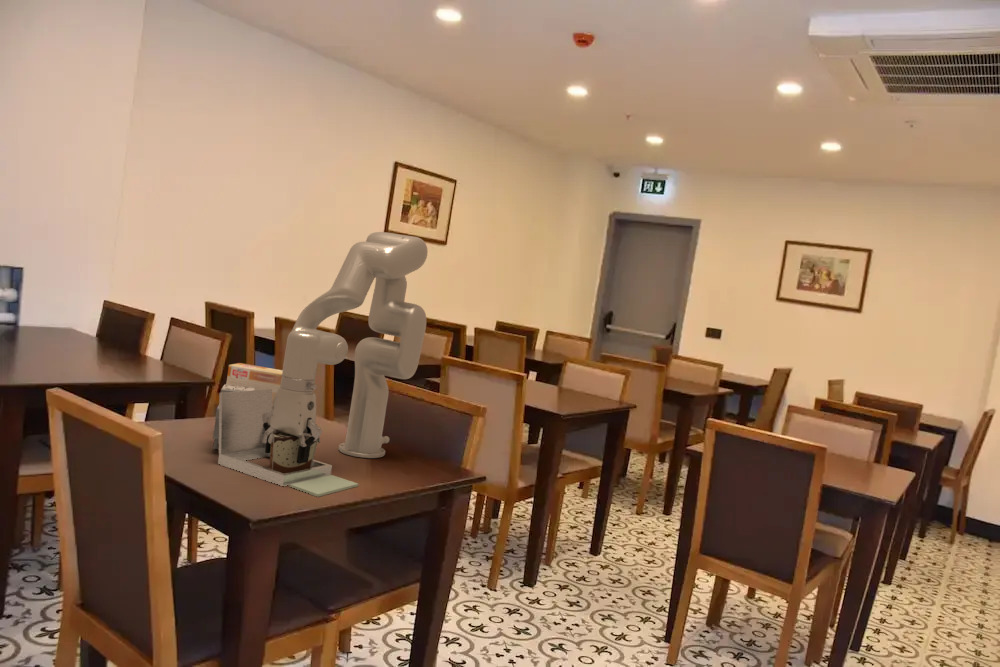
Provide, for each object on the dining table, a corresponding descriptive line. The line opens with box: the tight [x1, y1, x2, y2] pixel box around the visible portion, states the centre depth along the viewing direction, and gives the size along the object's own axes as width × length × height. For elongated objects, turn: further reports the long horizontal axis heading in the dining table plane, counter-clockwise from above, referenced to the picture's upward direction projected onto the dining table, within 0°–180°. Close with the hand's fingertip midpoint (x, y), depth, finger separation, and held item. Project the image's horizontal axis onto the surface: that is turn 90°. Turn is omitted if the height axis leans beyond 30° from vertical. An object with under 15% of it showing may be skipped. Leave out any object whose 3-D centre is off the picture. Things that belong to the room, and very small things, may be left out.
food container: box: [268, 430, 321, 474], centre depth 174 cm, size 12×6×10 cm, turn 133°
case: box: [217, 389, 333, 487], centre depth 176 cm, size 16×23×16 cm
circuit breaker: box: [212, 383, 255, 451], centre depth 186 cm, size 8×14×15 cm, turn 15°
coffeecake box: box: [225, 362, 283, 407], centre depth 199 cm, size 15×7×20 cm, turn 84°
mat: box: [289, 474, 359, 498], centre depth 169 cm, size 14×8×1 cm, turn 153°
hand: (286, 457), depth 174 cm, fingers open, 9 cm apart
